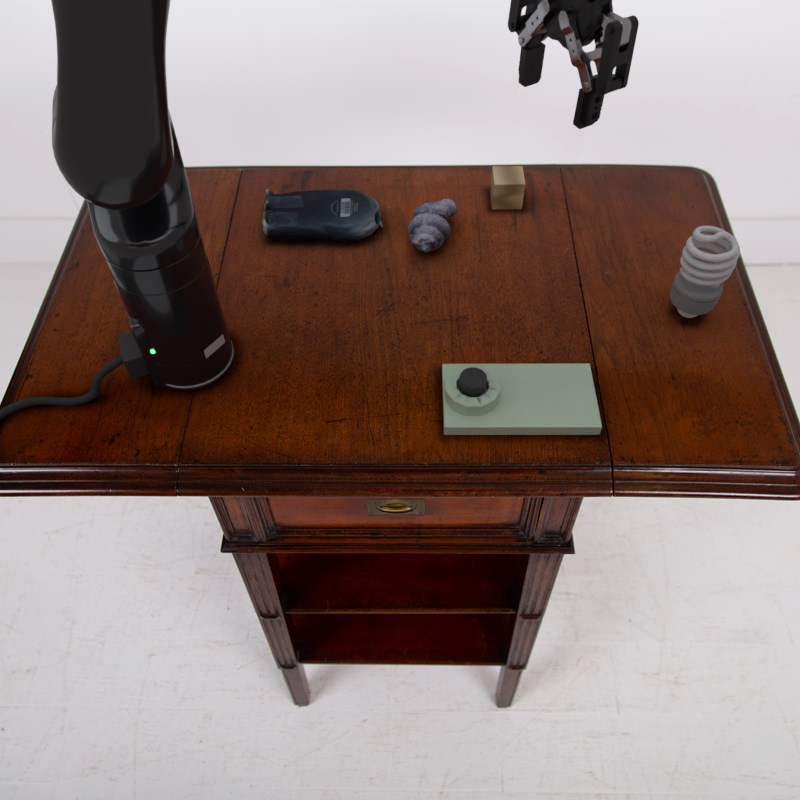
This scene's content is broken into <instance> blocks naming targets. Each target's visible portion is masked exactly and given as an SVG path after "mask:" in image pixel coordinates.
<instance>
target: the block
mask: <svg viewBox="0 0 800 800" xmlns="http://www.w3.org/2000/svg"><path fill="white" fill-rule="evenodd" d="M525 190H526V179H525V173H524V166H523V165H493V166H492V169H491V178H490V188H489V194H490V204H491V210H492V211H493V210H495V211H497V210H498V211H499V210H523V204H524V197H525Z"/></svg>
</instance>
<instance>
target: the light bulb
mask: <svg viewBox="0 0 800 800" xmlns="http://www.w3.org/2000/svg"><path fill="white" fill-rule="evenodd" d="M703 249H704V250H703ZM740 249H741V248H740V244H739V241H738V240H737V238H736V237H735V236H734V235H733V234H731V233H730V232H729V231H726V230H724V229H723V228H720V227H717V226H714V225H699V226H697V227H696V228H695V229H694V230H693V232H692V235H690V236H689V238H688V239H687V240H686V242H685V246H684V247H683V248H682V253H681V256H680V259H679V262H680V266H681V267H680V268H679V271H678V272H677V273H676V275H675V276H674V278H673V281H672V284H671V289H670V293H669V298H670V301H671V304H672V305H673V306H674V307H675V308H676V309H677V312H678V313H679V315H680V316H682V317H684V318H688V319H692V318H696V317H698V316H701V315H705V314H708V313H710V312H711V311H712V310H714V309H715V307H716V305H717V304H718V303H719V300H720V298H721V297H722V294H723V291H724V282H726V281H727V280H729V278H730V277H731V275H732V274H733V271H734V269H735V268H736V267H737V263H738V259H739V258H740V255H741V250H740ZM707 250H708V251H707Z"/></svg>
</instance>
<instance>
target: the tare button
mask: <svg viewBox="0 0 800 800" xmlns="http://www.w3.org/2000/svg"><path fill="white" fill-rule="evenodd" d="M486 384H487V375H486V373H485V372H484V371H483V370H481V369H479V368H476V367H470V368H467V369H465V370H463V371H462V372H461V374H460V380H459V388H460V391H461V392H462V393H463V394H464V395H466V396H469V397H477V396H480V395H482V394H483V393H484V392H485V390H486Z"/></svg>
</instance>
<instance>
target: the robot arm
mask: <svg viewBox="0 0 800 800" xmlns="http://www.w3.org/2000/svg"><path fill="white" fill-rule="evenodd" d="M50 1H51V7H52V11H53V13H52V14H53V18H54V19H53V20H54V27H55V36H56V37H55V39H56V57H57V60H56V62H57V63H56V68H57V69H56V86H55V88H54V92H53V96H52V107H51V108H52V109H51V111H52V112H51V113H52V115H51V117H52V118H51V147H52V153H53V158H54V160H55V163H56V165H57V167H58V169H59V171H60V173H61V174H62V176H63V178H64V180H65V181H66V183H67V184H68V185H69V187H71V188H72V190H73V191H75V192H76V194H78V195H79V196H80V197H81V198H83V199H84V200H85V201H86V204H87V209H88V213H89V218H90V222H91V227H92V230H93V234H94V238H95V240H96V243H97V245H98V247H99V249H100V251H101V253H102V256H103V258H104V261H105V264H106V265H107V268H108V270H109V273H110V275H111V278H112V280H113V283H114V285H115V287H116V290H117V292H118V294H119V297H120V299H121V301H122V303H123V306H124V309H125V312H126V315H127V320H128V323H129V327H130V330H131V331H129V332H124V333H121V334H118V335H117V339H118V344H119V349H120V355H118V356H117V357H116V358H114V359H112V360H111V361H109V362H107V363H106V364H105V365H104V366H102V367H101V368H100V369H99V370H98V371H97V372H96V373H95V374H94V376H93V377H92V380H91V385H90V391H88V392H87V393H85V394H82V395H80V396H74V397H73V396H72V397H59V396H33V397H32V396H31V397H26V398H23V399H20V400H17V401H14V402H12V403H9V404H8V405H6V406H3V407H2V408H0V421H1V420H3V419H4V418H6V417H7V416H9V415H11V414H13V413H15V412H18V411H20V410H23V409H26V408H29V407H34V406H64V407H65V406H66V407H69V406H71V407H72V406H80V405H85V404H88V403H90V402H92V401H93V400H95V399H96V398H97V397H98V396H99V395H100V392H101V387H102V386H101V384H102V381H103V380H104V379H105V377H106V376H108V375H109V374H110V373H112V372H113V371H114V370H116V369H117V368H119V367H120V366H122V365H123V364H124V367H125V368H126V371H127V373H128V375H129V378H130V379H131V380H134V379H137V378H140V377H144V376H147V375H148V376H149V375H150V378H151V381H152V382H153V385H154V388H155V390H158V391H159V390H163V389H169V390H173V391H180V392H181V391H182V392H186V391H187V392H190V391H196V390H200V389H203V388H206V387H209V386H211V385H213V384H215V383H216V382H218V381H219V380H221V379H222V378H223V377H224V376H225V375H226V374H227V373H228V372H229V371H230V369H231V367H232V365H233V364H234V360H235V347H234V344H233V341H232V337H231V335H230V332H229V329H228V326H227V322H226V319H225V315H224V311H223V308H222V304H221V300H220V297H219V292H218V289H217V286H216V283H215V280H214V279H215V278H214V275H213V271H212V269H211V265H210V261H209V258H208V254H207V251H206V247H205V243H204V240H203V239H204V238H203V236H202V232H201V229H200V225H199V221H198V218H197V213H196V208H195V204H194V200H193V195H192V190H191V187H190V182H189V178H188V176H187V172H186V167H185V164H184V161H183V156H182V153H181V149H180V145H179V141H178V137H177V134H176V130H175V126H174V123H173V119H172V116H171V112H170V108H169V99H168V84H167V83H168V81H167V59H166V58H167V56H166V55H167V54H166V52H167V35H168V23H169V16H170V15H169V14H170V7H171V1H172V0H50ZM524 8H525V13H524V14H522V11H523V9H524ZM507 29H508V31H509V32H510V33H516V34H517V41H518V42H517V43H518V44H519V46H520V54H519V61H518V84H520V85H521V86H522V87H524V88H527V87H529V86H532V85H535V84H538V83H539V82H540V81H541V78H542V72H543V66H544V58H545V51H546V44H545V43H544V41H546V40H547V39H548V38H550V39H551V40H552V41H553V40H554V41H558V43H559V44H560V45H561V46H562V47H563V48H565V49H566V50H567V51H568V54H569V59H570V63H571V65H572V66H573V67H575V68H576V70H577V72H578V76H579V77H578V78H579V82H580V85H581V87H580V88H579V90H578V93H577V94H578V95H577V99H576V104H575V110H574V115H573V120H572V124H573V126H574V127H576V128H577V129H579V130H581V129H586V128H587V127H590V126H593V125H594V124H595V123H596V122H598V120H599V119H600V118H601V112H602V109H603V108H602V107H603V103H604V99H605V95H607V94H609V93H612V92H615V91H618V90H622V89H625V88H627V86H628V83H629V76H630V72H631V66H632V61H633V55H634V50H635V46H636V41H637V36H638V30H639V19H638V17H637V16H636V15H630V16H627V17H623V16H621V15H619V14H617V13H615V12H614V7H613V0H510V6H509V13H508V19H507ZM593 41H594V45H595V47H594V49H593V50H592V51H588V52H586V51H585V50H584V49H583V47H586V46H588V45H590V44H591V43H592V42H593ZM592 62H594V64H595V69H596V73H597V74H593V70H592V66H591V63H592ZM614 69H615V70H614Z"/></svg>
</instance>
